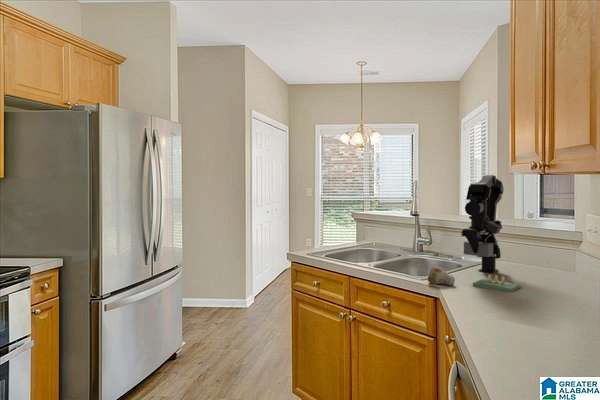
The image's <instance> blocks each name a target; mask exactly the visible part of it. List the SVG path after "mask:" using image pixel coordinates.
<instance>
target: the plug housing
mask: <svg viewBox="0 0 600 400" xmlns="http://www.w3.org/2000/svg"><path fill="white" fill-rule="evenodd" d="M463 255H466V256H467V255H468V256H475V257H478V256H483V257H490V256H493V243H487V242H479V244H478V251H477V253H474V252H473V250H472V247H471V245H470V243H469V241H468V240H467V241H463Z"/></svg>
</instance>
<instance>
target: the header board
mask: <svg viewBox="0 0 600 400" xmlns="http://www.w3.org/2000/svg"><path fill="white" fill-rule="evenodd" d="M487 278H488V279H487ZM487 278H481V279H479V280H476V281H474V282H473V283H472V286H473V287H478V288H484V289H491V290H495V291H496V290H497V291H503V292H509V293H512V292H514V291H516V290H518V289H519V288H520V287H521V284H519V283H514V282H508V281H505V276H501V280H500V281H499V276H498V275H496V274H495V275H494V280H493V279H492V274H488V277H487Z"/></svg>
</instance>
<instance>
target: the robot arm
mask: <svg viewBox="0 0 600 400" xmlns="http://www.w3.org/2000/svg"><path fill="white" fill-rule="evenodd" d="M504 190H505V189H504V185H503V182H502V181H501V180H500V179H498V178H497V176H496V175H494V174H493V175H492V174H491V175H490V174H489V175H488V174H487V175H486V174H485V175H483V176H482V178H481V179H480V180H479V181H478V182H476V181H475V182H470V184H469V185H468V188H467V193H466V198H465V199H466V201H468V200H469V201H468V202H467V203H466V204H465V207H464V210H465V213H466V214H467V215H469V217H468V218H469V219H470V222H471V223H470V226H468V228H463V230H461V237H465V238H466V239H467V241H469V243H470V245H471V247H472V250H473V252H474V253H477V251H478V244H479V242H487V243H493V256H490V257H483V256H477V258H481V268H480V269H478V272H484V273H491V274H494V273H496V272H499V269H498V268H496V266H497V265H496V262H497V259H498V260H499V259H501V255H502V254H501V249H500V247H499V244H498V242H499V241H498V240H497V238H496V237H495V235H496V234H500V232H501V229H503V225H502V221H501V220H498V219H497V207H498V204H499V202H500V201H501V200H502V196H503V194H504Z"/></svg>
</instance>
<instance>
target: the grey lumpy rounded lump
mask: <svg viewBox="0 0 600 400" xmlns="http://www.w3.org/2000/svg"><path fill="white" fill-rule="evenodd" d="M427 281H428V283H430V284H433V285H447V286H449V285H451V286H453V285H454V284H453V283H455V281H456V279H455V277H454V275H451V274H449V273H447V271H445V270H444V269H442V268H441V267H440V266H438V265H433V266H431V268H430V269H429V273H428V276H427Z"/></svg>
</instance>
